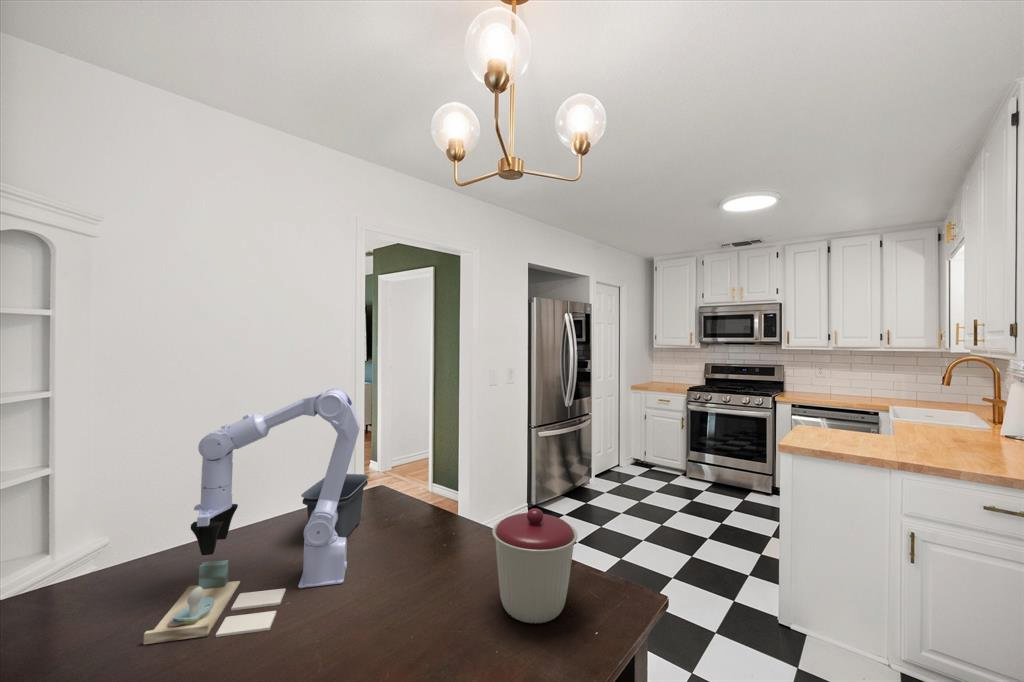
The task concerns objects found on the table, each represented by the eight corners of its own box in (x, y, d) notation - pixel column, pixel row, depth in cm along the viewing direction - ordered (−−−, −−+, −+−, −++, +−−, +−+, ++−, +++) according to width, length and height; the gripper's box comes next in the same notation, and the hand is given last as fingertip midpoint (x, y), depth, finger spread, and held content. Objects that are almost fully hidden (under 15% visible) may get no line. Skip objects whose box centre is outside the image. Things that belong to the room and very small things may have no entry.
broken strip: (285, 590, 98) (285, 588, 98) (269, 630, 84) (269, 627, 84) (239, 595, 95) (239, 593, 95) (215, 637, 82) (215, 634, 82)
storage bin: (345, 551, 117) (347, 497, 117) (287, 550, 117) (289, 496, 117) (370, 520, 138) (372, 474, 138) (321, 519, 138) (322, 473, 138)
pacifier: (159, 629, 83) (186, 632, 82) (159, 595, 83) (186, 598, 82) (193, 606, 90) (218, 609, 89) (193, 576, 90) (219, 578, 89)
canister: (582, 595, 99) (584, 501, 100) (565, 646, 82) (568, 532, 82) (506, 579, 105) (509, 490, 105) (476, 623, 88) (479, 517, 88)
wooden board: (240, 582, 100) (240, 558, 100) (207, 636, 82) (208, 606, 82) (189, 588, 98) (190, 563, 98) (143, 644, 79) (144, 614, 79)
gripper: (209, 476, 104) (206, 534, 104) (181, 496, 90) (178, 563, 90) (242, 474, 106) (240, 531, 106) (220, 494, 92) (217, 560, 92)
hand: (214, 546), depth 98 cm, fingers open, 7 cm apart
